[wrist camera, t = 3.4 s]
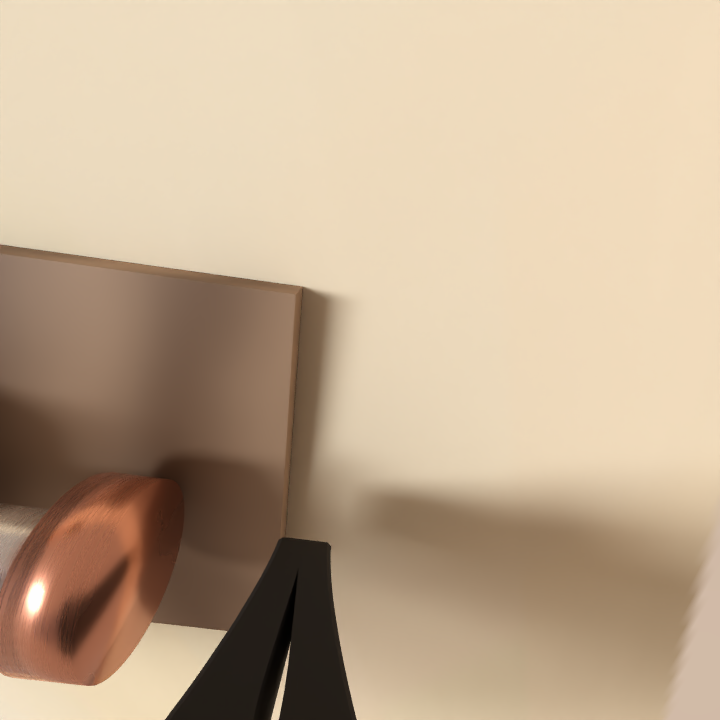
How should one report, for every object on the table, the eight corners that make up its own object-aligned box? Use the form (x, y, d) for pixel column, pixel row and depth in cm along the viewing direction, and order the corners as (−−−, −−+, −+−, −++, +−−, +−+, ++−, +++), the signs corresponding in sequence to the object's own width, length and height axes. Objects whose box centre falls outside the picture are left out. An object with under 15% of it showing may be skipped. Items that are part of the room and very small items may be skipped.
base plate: (302, 286, 10) (295, 294, 9) (279, 610, 15) (274, 636, 14) (-419, 186, 9) (-506, 183, 8) (-176, 557, 15) (-212, 581, 14)
